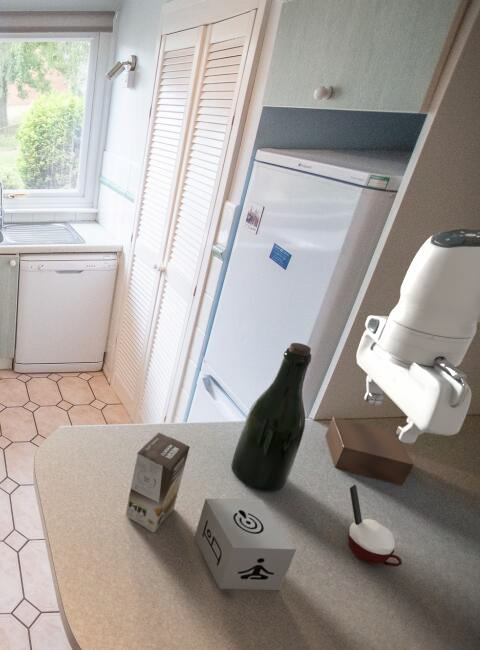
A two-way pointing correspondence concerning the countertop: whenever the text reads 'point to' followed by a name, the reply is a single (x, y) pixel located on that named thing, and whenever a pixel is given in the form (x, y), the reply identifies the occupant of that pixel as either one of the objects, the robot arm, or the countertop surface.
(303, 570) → the countertop surface
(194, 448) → the countertop surface
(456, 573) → the countertop surface
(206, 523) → the icon cube
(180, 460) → the coffee box
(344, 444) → the walnut block
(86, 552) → the countertop surface
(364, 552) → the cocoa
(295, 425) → the beer bottle
